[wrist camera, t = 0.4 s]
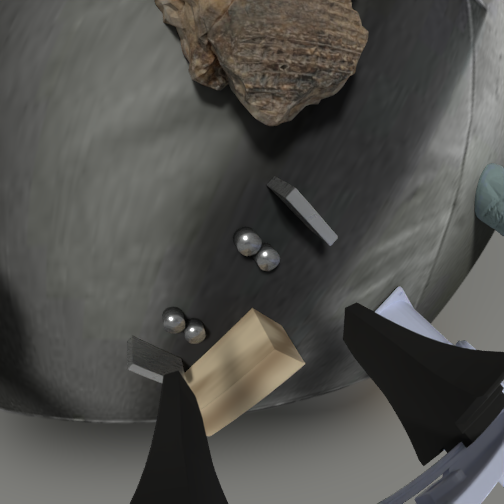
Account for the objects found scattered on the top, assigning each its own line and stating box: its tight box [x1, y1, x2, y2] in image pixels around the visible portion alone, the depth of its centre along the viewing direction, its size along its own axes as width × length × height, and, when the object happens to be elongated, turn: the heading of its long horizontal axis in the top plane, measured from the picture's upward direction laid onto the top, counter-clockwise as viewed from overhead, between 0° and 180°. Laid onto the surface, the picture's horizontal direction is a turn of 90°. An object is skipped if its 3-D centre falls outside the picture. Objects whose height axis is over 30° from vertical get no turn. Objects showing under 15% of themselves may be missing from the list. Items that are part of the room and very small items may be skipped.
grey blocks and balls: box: [127, 177, 338, 383], centre depth 19 cm, size 5×17×3 cm, turn 134°
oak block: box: [184, 308, 305, 436], centre depth 23 cm, size 4×12×5 cm, turn 134°
